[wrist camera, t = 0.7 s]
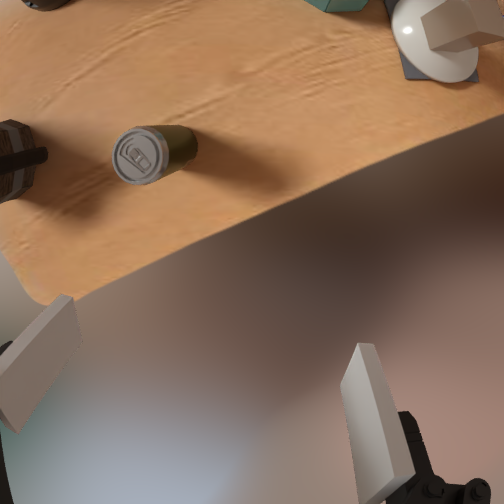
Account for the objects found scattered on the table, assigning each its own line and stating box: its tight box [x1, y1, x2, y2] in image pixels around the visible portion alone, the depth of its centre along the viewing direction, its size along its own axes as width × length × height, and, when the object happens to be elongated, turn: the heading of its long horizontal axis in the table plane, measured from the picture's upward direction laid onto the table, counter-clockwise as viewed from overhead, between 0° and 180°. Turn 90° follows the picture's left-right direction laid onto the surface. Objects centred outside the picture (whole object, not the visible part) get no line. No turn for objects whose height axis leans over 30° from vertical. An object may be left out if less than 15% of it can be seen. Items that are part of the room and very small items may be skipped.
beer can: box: [112, 125, 198, 185], centre depth 29 cm, size 5×5×12 cm
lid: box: [391, 0, 504, 83], centre depth 20 cm, size 13×13×12 cm
